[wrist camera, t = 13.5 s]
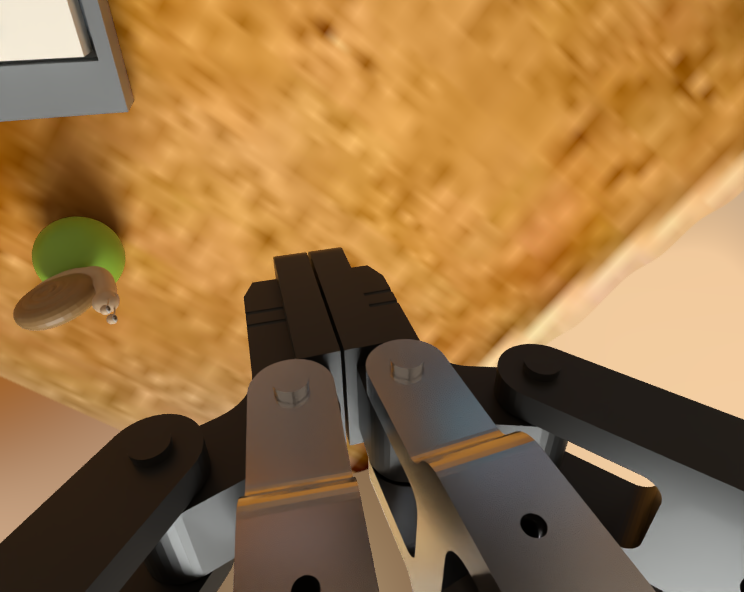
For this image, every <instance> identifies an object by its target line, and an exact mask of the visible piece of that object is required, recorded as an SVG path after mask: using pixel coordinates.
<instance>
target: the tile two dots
mask: <svg viewBox="0 0 744 592" xmlns="http://www.w3.org/2000/svg"><path fill="white" fill-rule="evenodd" d="M91 51H93V50H92V46H91V43H90V39H89V36H88V32H87V29H86V26H85V22H84V19H83V15H82V12H81V9H80V5H79V2H78V0H0V61H15V60H34V59H53V58H71V57H85V56H86V55H87V54H89V53H90V52H91Z"/></svg>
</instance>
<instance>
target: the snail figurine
mask: <svg viewBox="0 0 744 592" xmlns="http://www.w3.org/2000/svg"><path fill="white" fill-rule="evenodd" d="M32 262H33V266H34V269H35V271H36V273H37V275H38V276H39V278H40V279H41V280H42V281H43V282H41V283H40V284H39V285H37V286H36V287H35V288H34V289H32V290H31V291H30V292H28V293H27V294H26V295H25V296H23V297H22V298H21V299H20V301H19V302H18V303H17V305H16V307H15V309H14V314H13V316H14V320H15V322H16V323H17V324H18V325H19V326H20V327H22V328H24V329H27V330H33V331H39V330H46V329H51V328H54V327H57V326H60V325H62V324H65V323H67V322H69V321H71V320H73V319H75V318H76V317H78V316H80V315H81V314H82V313H84V312H85V311H86V310H87V309H88V308H90V307H91V306H93V308H94V309H95V310H96V311H97V312H100V313H102V314H103V315H108V314H109V313H110V312H112V311H114V314H110V315H108V316H107V322H108V323H109V324H115V323H116V322H117V316H116V315H115V310H116V308H117V307H118V306H119V296H118V294H117V288H116V282H117V280H118V279H119V278H120V276H121V274H122V272H123V269H124V266H125V251H124V248H123V245H122V243H121V241H120V239H119V237H118V236H117V235H116V233H115V232H114V231H113V230H112V229H110V228H109V227H108V226H107V225H105V224H103V223H102V222H99V221H97V220H95V219H91V218H87V217H79V216H75V217H66V218H62V219H59V220H57V221H54V222H53V223H51V224H49V225H48V226H46V227H45V228H44V229H43V230H42V231H41V232H40V233H39V235H38V236H37V238H36V240H35V242H34V245H33V249H32Z"/></svg>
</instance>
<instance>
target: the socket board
mask: <svg viewBox="0 0 744 592" xmlns="http://www.w3.org/2000/svg"><path fill="white" fill-rule="evenodd" d="M78 2H79V5H80V9H81V12H82V15H83V19H84V22H85V26H86V29H87V32H88V36H89V39H90V43H91V46H92V50H93V51H91V52H90V53H89V54H87V55H86V56H85V57H71V58H53V59H34V60H15V61H0V121H14V120H27V119H40V118H53V117H66V116H80V115H93V114H106V113H119V112H128V111H129V109H130V108H131V106H132V104H133V102H134V98H133V95H132V91H131V87H130V83H129V79H128V76H127V72H126V68H125V64H124V61H123V57H122V53H121V49H120V45H119V42H118V38H117V34H116V30H115V27H114V23H113V19H112V15H111V11H110V8H109V4H108V0H78Z"/></svg>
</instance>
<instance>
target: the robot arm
mask: <svg viewBox="0 0 744 592" xmlns="http://www.w3.org/2000/svg"><path fill="white" fill-rule="evenodd" d="M273 260H274V268H275V275H276V279H274V280H267V281H260V282H254V283H252V284H251V286H250V288H249V289H248V291H247V293H246V294H245V296H244V304H245V313H246V322H247V332H248V341H249V350H250V360H251V369H252V381H251V383H250V385H249V387H248V392H247V395H246V396H245V398H244V399H243V400H242V401H241V402H240V403H239V404H238V405H237V406H235V407H234V408H233V409H232V410H230V411H229V412H227V413H225V414H223V415H222V416H220V417H218V418H215V419H213V420H211V421H209V422H207V423H205V424H202V425H200V426H199V425H198V424H197V423H196V422H195V421H193V420H192V419H190V418H188V417H186V416H182V415H177V414H162V415H156V416H152V417H148V418H145V419H142V420H140V421H137V422H136V423H134V424H132V425H130V426H128V427H127V428H125V429H124V430H122V431H121V432H120V433H118V434H117V435H116V436H115V437H114V438H113V439H112V440H111V441H109V442H108V443H107V444H106V445H105V446H104V447H103V448H102V449H101V450H100V451H99V452H98V453H97V454H96V455H94V456H93V457H92V458H91V459H90V460H89V461H88V462H87V463H86V464H85V465H84V466H83V467H82V468H81V469H80V470H78V471H77V472H76V473H75V474H74V475H73V476H72V477H71V478H70V479H69V480H68V481H67V482H66V483H64V484H63V485H62V486H61V487H60V488H59V489H58V490H57V491H56V492H55V493H54V494H53V495H52V496H51V497H50V498H49V499H47V500H46V501H45V502H44V503H43V504H42V505H41V506H40V507H39V508H38V509H37V510H36V511H35V512H34V513H32V514H31V515H30V516H29V517H28V518H27V519H26V520H25V521H24V522H23V523H22V524H21V525H19V527H17V528H16V529H15V530H14V531H13V532H12V533H11V534H10V535H9V536H8V537H7V538H6V539H5V540H4V541H2V542H1V543H0V592H217V591H218V589H219V587H220V586H221V585H222V583H223V581H224V580H225V578H226V577H227V575H228V573H229V571H230V570H231V568H232V565H233V563H234V583H233V585H234V586H233V592H379V588H378V583H377V578H376V573H375V568H374V563H373V558H372V553H371V548H370V543H369V538H368V533H367V527H366V522H365V518H364V512H363V507H362V502H361V497H360V492H359V488H358V484H357V480H356V478H355V477H353V476H352V471H351V466H350V461H349V456H348V450H347V444H346V433H347V437H348V440H349V444H350V445H354V444H358V443H363V442H364V444H365V447H366V450H367V453H368V459H369V476H370V480H371V483H372V485H373V487H374V490H375V492H376V495H377V497H378V500H379V502H380V504H381V507H382V509H383V511H384V514H385V517H386V519H387V521H388V524H389V526H390V529H391V531H392V533H393V536H394V538H395V541H396V543H397V546H398V548H399V550H400V553H401V555H402V558H403V560H404V563H405V565H406V568H407V570H408V574H409V577H410V581H411V585H412V591H413V592H744V420H743V419H741V418H738V417H735V416H733V415H730V414H727V413H724V412H722V411H720V410H717V409H714V408H712V407H709V406H706V405H703V404H701V403H698V402H696V401H693V400H690V399H688V398H685V397H682V396H680V395H677V394H674V393H672V392H669V391H667V390H664V389H661V388H659V387H656V386H653V385H651V384H648V383H645V382H643V381H640V380H637V379H635V378H632V377H629V376H627V375H624V374H621V373H619V372H616V371H614V370H611V369H608V368H606V367H603V366H600V365H597V364H595V363H592V362H590V361H587V360H584V359H582V358H579V357H576V356H574V355H571V354H568V353H566V352H563V351H561V350H558V349H555V348H552V347H549V346H544V345H538V344H523V345H518V346H514V347H512V348H509V349H508V350H506V351H505V352H504V353H503V354H502V355H501V356H500V358H499V361H498V365H497V367H476V366H461V365H456V364H452V363H449V361H448V360H447V359H446V357H445V356H444V355H443V353H442V352H441V351H440V350H438V349H437V348H436V347H434V346H432V345H430V344H428V343H426V342H422V341H420V340H419V338H418V337H417V335H416V333H415V331H414V329H413V328H412V326H411V324H410V322H409V321H408V319H407V317H406V315H405V314H404V312H403V310H402V308H401V307H400V305H399V303H397V299H396V298H395V296H394V294H393V292H391V289H390V287H389V285H388V284H387V282H386V280H385V278H384V276H383V275H381V274H380V273H378V272H377V271H375V270H374V269H372V268H371V267H369V266H368V265H366V266H360V267H353V268H351V266H350V264H349V262H348V260H347V258H346V256H345V254H344V252H343V250H342V248H341V247H339V248H332V249H325V250H318V251H311V252H308V255H307V253H306V252H305V253H297V254H290V255H283V256H276V257H273ZM568 441H569V442H571V443H573V444H575V445H577V446H580V447H582V448H584V449H586V450H588V451H590V452H592V453H595V454H597V455H599V456H601V457H603V458H605V459H607V460H610V461H612V462H614V463H616V464H618V465H620V466H622V467H625V468H627V469H629V470H631V471H633V472H635V473H638V474H640V475H642V476H644V477H645V478H647V479H648V480H650V481H651V482H653V483H654V485H655V486H653V487H642V486H638V485H635V484H633V483H631V482H628V481H626V480H624V479H622V478H620V477H618V476H616V475H614V474H612V473H609V472H607V471H605V470H603V469H601V468H599V467H597V466H595V465H593V464H591V463H589V462H586V461H584V460H582V459H580V458H578V457H576V456H574V455H572V454H570V453H568V452H566V451H565V449H566V446H567V443H568Z"/></svg>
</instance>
